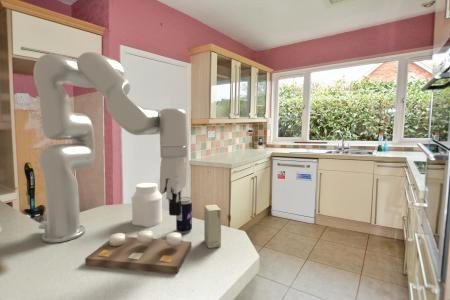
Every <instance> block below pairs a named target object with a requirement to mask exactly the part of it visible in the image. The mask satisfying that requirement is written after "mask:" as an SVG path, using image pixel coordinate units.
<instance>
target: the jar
mask: <svg viewBox="0 0 450 300" xmlns="http://www.w3.org/2000/svg"><path fill="white" fill-rule="evenodd" d="M158 187H159V185H158V183H156V182H141V183H140V182H139V183H137V184H136V185H135V192H134V193H133V195H132V196H131V218H132V219H131V224H132V225H133V226H139V227H144V228H150V227H155V226H157V225H159V224H161V223H162V221H163V201H162V200H163V195H162V194H161V193H160V190H159V189H158Z"/></svg>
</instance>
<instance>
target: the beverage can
mask: <svg viewBox="0 0 450 300" xmlns="http://www.w3.org/2000/svg"><path fill="white" fill-rule="evenodd" d="M179 201H181V212H182V213H181V214H180V215H179V216H175V217H176V219H175V220H176V221H175V229H176V231H177V232H178V233H180V234H186V233H189V232H190V231H191V230H192V229H193V201H192V198H191V197H188V196H181V200H179Z"/></svg>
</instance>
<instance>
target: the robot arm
mask: <svg viewBox="0 0 450 300" xmlns="http://www.w3.org/2000/svg"><path fill="white" fill-rule="evenodd" d="M33 80H34V85H35V87H36V90H37V94H38V98H39V106H40V107H39V111H40V120H41V128H42V132H43V135H44V136H45V137H46V138H47V139H48V140H52V141H55V140H56V141H63V140H64V141H66V140H68V141H69V140H71V143H56V144H52V145H51V144H50V145H48V146H45V147H44V148H43V149H42V150H41V151H40V153H39V156H38V160H39V165H40V169H41V172H42V177H43V181H44V182H43V183H44V195H45V197H44V198H45V211H46V220H43V221H42V222H41V223H40V224H39V225H38V229H40V230H44V233H43V234H41V240H42V241H43V242H44V243H63V242H67V241H72V240H74V239H76V238H78V237H81V236H82V235H83V234H85V232H86V227H85V226H84V225H82V224H81V219H80V217H81V216H80V214H81V213H80V196H79V195H80V193H79V183H78V180H77V178H76V176H75V175H74V174H73V172H72V171H75V170H81V169H82V170H83V169H86V168H89V167H91V166H92V165H93V164H94V163H95V159H96V144H95V143H96V142H95V132H94V131H95V128H94V125H93V122H92V120H91V118H90V117H89V116H87V115H86V114H84V113H82V112H81V113H80V112H73V111H72V105H71V104H72V103H71V102H72V101H71V98H70V95H69V93H68V92H67V91H66V89H65V88H64V86H63V85H68V86H69V85H70V86H74V87H80V88H85V89H86V88H87V89H90V88H91V89H93V88H94V89H95V90H96V91H98V93H100V94H101V96H103V98H105V104H106V108H107V109H106V110H107V112H108V113H109V115H110V116H111V117H112V119H113V120H114V121H115V122H116V123H117V124H118V125H119V126H120V127H121V128H122V129H123V130H125V131H126V132H128V133H129V134H131V135H133V136H147V135H148V136H152V135H159V148H160V149H159V150H160V151H159V153H160V156H159V157H160V159H161V161H160V169H159V192H160V194H161V195H162V194H165V193H166V197H165V198H166V199H165V200H168V214H169V216H172V217H173V216H175V217H176V216H179V215H180V214H181V213H182V212H181V201H179V200H181V197H182V193H183V192H182V191H183V189H184V188H186V185H187V171H186V170H187V169H186V158H188V137H187V136H188V135H187V133H188V131H187V129H188V128H187V124H188V123H187V122H188V121H187V112H186V111H185V110H184V109H182V108H171V107H170V108H162V109H154V108H145V107H140V106H138V105H137V104H136V103H135V102H134V101H133V100H131V99H130V97H128V95H129V92H130V90H131V84H130V81H128V79H127V78H126V77H125V71H124V67H123V66H122V64H121V63H120V62H119V61H117V60H115V59H114V58H110V57H108V56H106V55H103V54H100V53H97V52H92V51H88V52H87V51H86V52H83V53H81V54H80V55H79V56H78V58H77V59H74V58H71V57H68V56H64V55H60V54H54V53H46V54H44V55H41V56H40V57H39V58H38V59H37V60H36V62H35V63H34V66H33Z"/></svg>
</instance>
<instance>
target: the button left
mask: <svg viewBox="0 0 450 300" xmlns="http://www.w3.org/2000/svg"><path fill="white" fill-rule="evenodd" d="M125 237H126V234H125V233H122V232H117V233H113V234H111V235H109V237H108V238H109V239H108V241H109V242H110V245H111V246H119V245H122V244H124V243H125Z"/></svg>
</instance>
